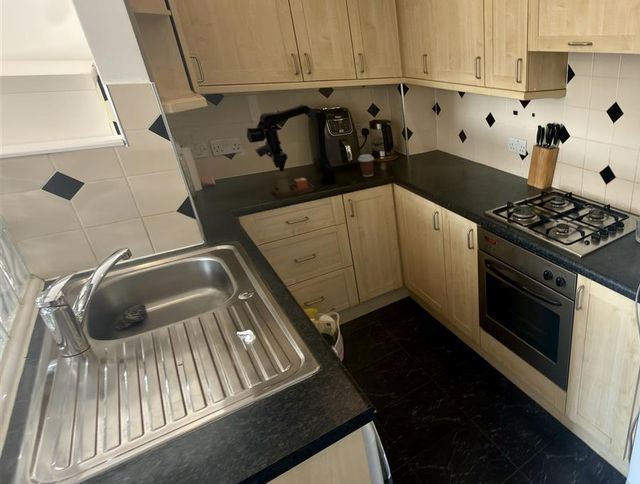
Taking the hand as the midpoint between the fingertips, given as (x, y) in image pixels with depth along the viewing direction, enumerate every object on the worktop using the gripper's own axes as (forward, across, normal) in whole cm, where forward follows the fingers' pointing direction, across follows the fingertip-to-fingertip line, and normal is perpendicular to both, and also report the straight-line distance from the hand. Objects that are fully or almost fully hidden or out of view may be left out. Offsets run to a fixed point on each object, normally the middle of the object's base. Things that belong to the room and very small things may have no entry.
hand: (279, 169), depth 210 cm
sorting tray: (+13, 0, +4) cm, 14 cm away
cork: (+12, 0, 0) cm, 12 cm away
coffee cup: (+13, -4, +47) cm, 49 cm away
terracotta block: (+12, 0, +9) cm, 15 cm away
